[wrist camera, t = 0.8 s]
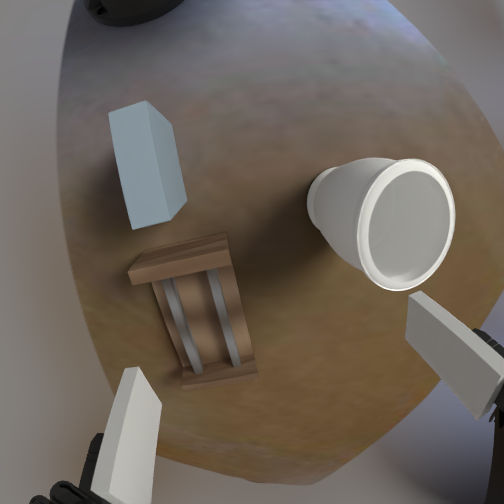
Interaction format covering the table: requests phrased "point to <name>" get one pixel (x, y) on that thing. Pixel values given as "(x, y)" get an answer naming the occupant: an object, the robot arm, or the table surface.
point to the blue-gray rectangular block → (147, 164)
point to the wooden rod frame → (200, 309)
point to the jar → (385, 218)
